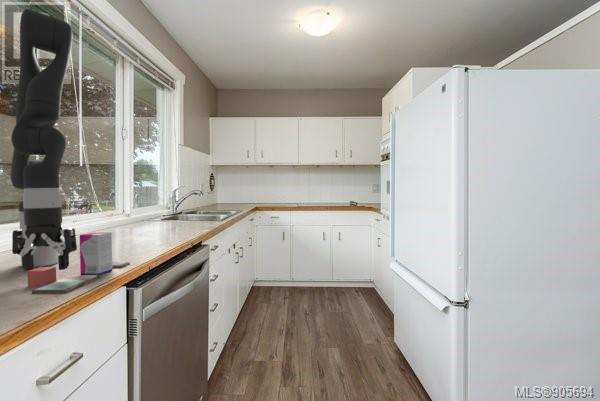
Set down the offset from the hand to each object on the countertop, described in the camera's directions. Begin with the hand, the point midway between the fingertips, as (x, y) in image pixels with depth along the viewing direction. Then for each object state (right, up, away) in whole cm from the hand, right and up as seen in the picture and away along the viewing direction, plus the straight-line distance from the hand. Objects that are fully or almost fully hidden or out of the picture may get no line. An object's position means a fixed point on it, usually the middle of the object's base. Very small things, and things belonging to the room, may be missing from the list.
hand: (46, 269), depth 81 cm
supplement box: (+6, -3, +11) cm, 13 cm away
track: (+6, -3, +7) cm, 10 cm away
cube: (-1, -4, 0) cm, 4 cm away
